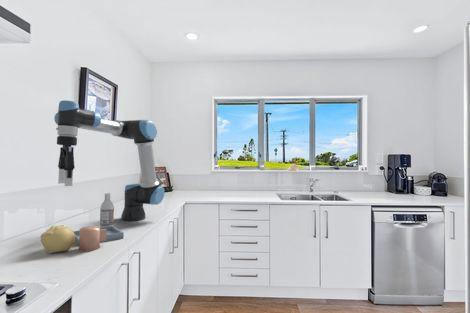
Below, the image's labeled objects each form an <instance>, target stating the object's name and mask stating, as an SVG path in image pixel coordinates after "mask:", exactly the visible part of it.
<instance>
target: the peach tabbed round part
mask: <svg viewBox="0 0 470 313" xmlns="http://www.w3.org/2000/svg"><path fill="white" fill-rule="evenodd" d="M79 231H80V239H79V246H78V250H79V252H92V251H93V252H94V251H96V250H99V249H100V244H101V242H100V241H106V234H107V229H102V230H100V225H99V226H98V225H89V226H83V227H81V228H80V227H79ZM106 242H107V241H106Z"/></svg>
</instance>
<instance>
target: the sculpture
mask: <svg viewBox="0 0 470 313" xmlns="http://www.w3.org/2000/svg"><path fill="white" fill-rule="evenodd" d="M73 231H74V230H73V229H71V228H70V227H68V226H65V225H64V224H62V225H52V226H51V227H50V228H48V229H46V230H45V231H44V232H43V233H41V235H40V244H41V245H42V247H43V248H44V250H45V251H46V252H48V253H49V254H50V253H51V254H53V253H59V252H60V253H61V252H64V251H69V250H70V249H71V248H72V247H73V246H74V244H75V242H74V241H75V235H74V232H73Z"/></svg>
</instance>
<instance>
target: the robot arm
mask: <svg viewBox="0 0 470 313" xmlns="http://www.w3.org/2000/svg"><path fill="white" fill-rule="evenodd" d="M79 105H80V104H79V103H78V102H76V101H73V100H65V99H64V100H60V101H59V102H58V108H57V112H56V113H55V115H54V122H55V124H56V125H57V127H56V128H55V130H57V131H56V132H57V137H56V144H57V145H59V146H61V147H60V150H59V158H58V164H57V167H58V180H57V182H58V184H64V187H73V181H74V180H73V175H74V170H75V156H74V149H75V148H74V147H76V146H78V129H83V130H88V131H93V132H100V133H105V134H111V135H112V136H114V137H118V138H123V139H128V140H133V143H134V144H135V146H137V153H138V160H139V165H140V167H139V168H140V173H141V180H142V183H140V182H138V183H130V184H126V185H125V186H124V208H123V209H122V212H121V215H120V219H121V221H126V222H136V221H142V220H145V219H146V211H145V208H144V205H151V206H153V205H157V206H158V205H159V204H161V203H162V202H163V200H164V198H165V188H164V187H162V186H161V185H160V181H158V179H157V174H156V166H155V157H154V150H153V143H154V142H155V139H156V137H157V135H158V129H157V126H156V124H155V123H154V122H153V121H152V120H148V119H136V120H131V119H130V120H117V119H115V120H110V119H105V118H102V116H101V114H100V112H97V111H94V110H89V109H83V108H80V106H79Z"/></svg>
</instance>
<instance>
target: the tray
mask: <svg viewBox="0 0 470 313" xmlns="http://www.w3.org/2000/svg"><path fill="white" fill-rule="evenodd" d="M102 229H107V234H106V241H100V243H105V242H110V241H117V240H122V239H124V236H125V235H124V231H122V230H121V229H118V228H117V227H116V226H114V225H113V226H109V227H102V228H100V230H102ZM72 231H73V232H74V235H75V241H74V244H76V245H77V246H78V247H79V239H80V230H75V231H74V230H72Z"/></svg>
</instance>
